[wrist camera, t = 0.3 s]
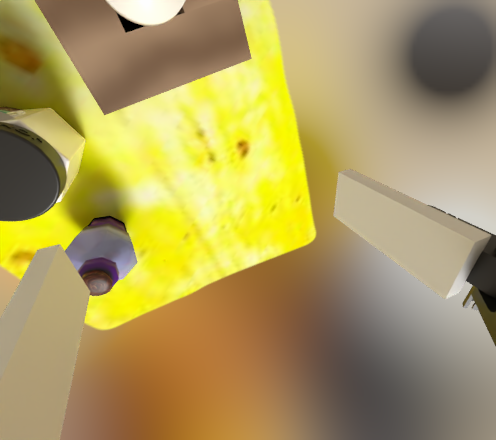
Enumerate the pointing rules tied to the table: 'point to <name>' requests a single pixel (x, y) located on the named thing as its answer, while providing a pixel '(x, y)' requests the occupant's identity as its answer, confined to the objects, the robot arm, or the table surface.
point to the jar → (36, 162)
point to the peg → (147, 10)
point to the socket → (146, 47)
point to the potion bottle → (102, 254)
